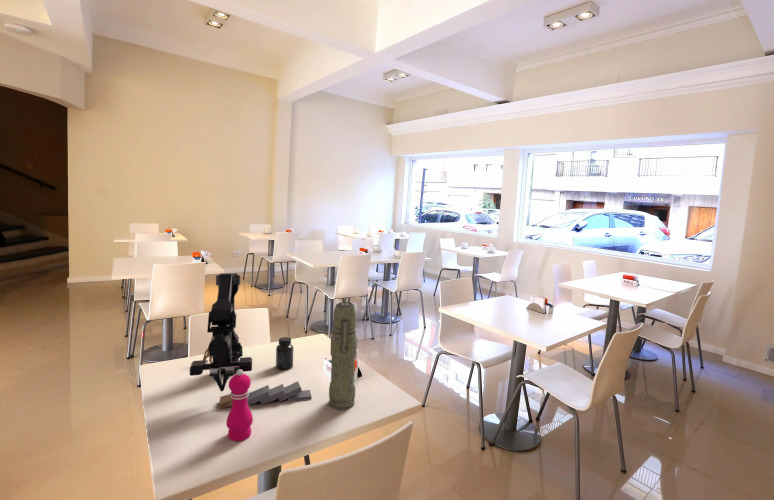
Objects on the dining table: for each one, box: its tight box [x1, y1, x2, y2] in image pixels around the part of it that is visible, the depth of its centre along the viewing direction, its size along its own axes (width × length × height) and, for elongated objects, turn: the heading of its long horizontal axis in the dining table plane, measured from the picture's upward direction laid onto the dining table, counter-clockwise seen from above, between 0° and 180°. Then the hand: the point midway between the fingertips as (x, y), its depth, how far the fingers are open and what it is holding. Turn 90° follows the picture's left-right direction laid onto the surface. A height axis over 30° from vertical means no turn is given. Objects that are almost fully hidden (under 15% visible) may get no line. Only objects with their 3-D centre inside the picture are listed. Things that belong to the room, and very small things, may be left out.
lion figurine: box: [202, 347, 213, 363], centre depth 170 cm, size 15×5×9 cm, turn 121°
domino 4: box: [277, 381, 303, 402], centre depth 143 cm, size 2×5×8 cm
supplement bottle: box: [275, 336, 294, 371], centre depth 167 cm, size 7×7×12 cm
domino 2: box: [247, 384, 271, 407], centre depth 139 cm, size 2×5×8 cm
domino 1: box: [218, 393, 232, 410], centre depth 137 cm, size 2×5×8 cm
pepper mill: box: [225, 369, 254, 442], centre depth 118 cm, size 7×7×20 cm
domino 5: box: [286, 389, 313, 403], centre depth 144 cm, size 2×5×8 cm
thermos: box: [328, 301, 358, 410], centre depth 139 cm, size 9×12×35 cm
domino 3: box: [259, 383, 285, 406], centre depth 140 cm, size 2×5×8 cm
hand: (222, 390), depth 135 cm, fingers closed
